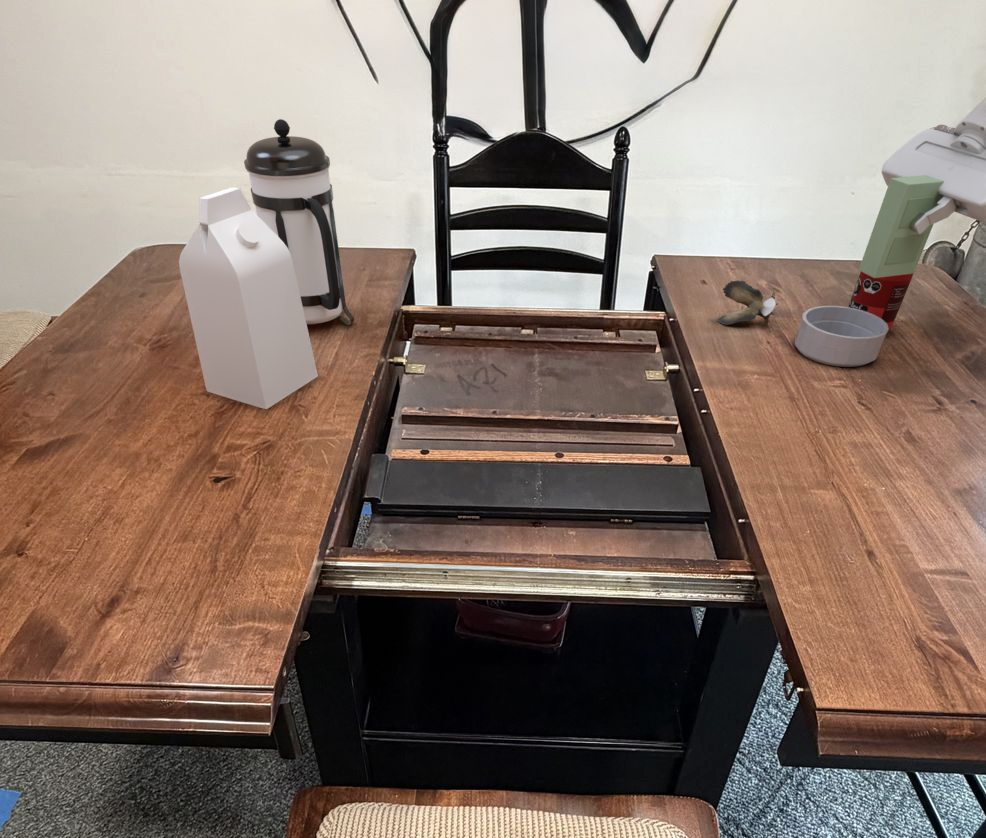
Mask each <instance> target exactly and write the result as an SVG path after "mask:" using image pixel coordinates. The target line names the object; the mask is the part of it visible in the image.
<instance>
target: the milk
mask: <svg viewBox="0 0 986 838" xmlns="http://www.w3.org/2000/svg"><path fill="white" fill-rule="evenodd" d="M198 211H199V212H198V213H199V214H198V215H199V216H198V217H199V218H198V219H199V220H198V221H199V222H198V223H199V224H198V226H197V227H196V229H195V230H194V232H193V233H192V235H191V237H190V238H189V239H188V241H187V243H186V245H184V247H183V249H182V250H181V252H180V255H179V259H178V266H179V267H178V269H179V272H180V277H181V281H182V282H181V283H182V286H183V290H184V295H185V299H186V304H187V308H188V309H187V310H188V314H189V318H190V322H191V328H192V331H193V336H194V341H195V345H196V350H197V354H198V358H199V364H200V368H201V373H202V377H203V380H204V386H205V391H206V392H207V393H211V394H215V395H217V396H221V397H223V398H227V399H230V400H233V401H236V402H240V403H243V404H245V405H246V404H247V405H249V406H253V407H256V408H259V409H260V408H261V409H263V410H268V409H269V408H271V407H273V406H274V405H276V404H278V403H279V402H281V401H283V400H284V399H285V398H287V397H289V396H290V395H291V394H293V393H294V392H296V391H297V390H299V389H301V388H302V387H304V386H306V385H308V384H309V383H310V382H312V381H313V380H315V379H317V378H318V377H319V375H318V369H317V365H316V362H315V356H314V352H313V347H312V342H311V338H310V335H309V329H308V324H306V319H305V315H304V310H303V306H302V301H301V297H300V292H299V288H298V283H297V279H296V274H295V270H294V265H293V260H292V257H291V254H290V252H289V250H288V248H287V246H286V245H285V244H284V242H283V241H282V240H281V239H280V238H279V237H278V236H277V235H276V234H275V233H274V232H273V231H272V230H271V229H270V228H269V227H268V226H267V225H266V224H265V223H264V222H263V221H262V220H261V219H260V218H259V216H258V215H257V212H255V211H254V210H252V207H251V206H250V203H249V202H248V200H247V198H246V197H245V195H244V193H243V191H242V190H241V188H238V187H233V186H232V187H228V188H226V189H225V188H224V189H223V190H222V189H221V190H219V191H216V192H213V193H210V194H207V195H204V196H201V197H199V210H198Z"/></svg>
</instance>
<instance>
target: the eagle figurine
mask: <svg viewBox="0 0 986 838" xmlns="http://www.w3.org/2000/svg"><path fill="white" fill-rule="evenodd" d="M724 286H725V287H723V288H722V290H723V293H724V296H725V297H726V298H728V299H730V300H733V302H736V303H738V304H742V305H744V306H746V308H743V309H742V308H741V309H738V310H734V311H731V312H729V313H728V314H723V315H721V316H719V317H718V318H717V319H716V321H717V322H718V323H719V324H722V325H734V324H735V323H740V322H744V321H746V322H750V321H753V320H755V319H756V318H757V316H759V317H761V318H762V319H763V320H764V323H765V324H766V325H768V324H769V321H770V316H775V313H774V310H775V308H776V306H778V305H779V302H776V300H775V299H776V296H775V295H776V290H774V291H773V292H772V294H771V295H770V297H769V298H767V299H766V300H764V301H763V299H764V295H763V293H762V292H761V290H760V289H757V288H754V287H753V286H752V285H749V283H747V282H746V281H744V280H738V279H737V280H731V281H730V282H728V283H727V284H725V285H724Z"/></svg>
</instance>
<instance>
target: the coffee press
mask: <svg viewBox="0 0 986 838" xmlns="http://www.w3.org/2000/svg"><path fill="white" fill-rule="evenodd" d="M273 126H274V127H273V130H274V131H275V133H276V135H277V136H273V137H267V138H263V139H259V140H257V141H255V142H253V144H251V145H250V146H249V147H248V149H247V151H246V158H245V159H244V160H243V165H244V168H245V170H246V171H247V173H248V176H249V180H250V186H251V188H250V193H251V199H252V203H253V204H254V206H255V211H256V214H257V215H258V216H259V218H260V219H261V220H262V221H263V222H264V223H265V224H266V225H267V226H268V227H269V228H270V229H271V230H272V231H273V232H274V233H275V234H276V235H277V236H278V237H279V238H280V239H281V240H282V241H283V242H284V244H285V245H286V246H287V248H288V250H289V252H290V254H291V257H292V260H293V265H294V270H295V274H296V279H297V283H298V288H299V292H300V297H301V301H302V306H303V310H304V315H305V319H306V324H307V325H317V324H322V323H326V322H330V321H332V320H334V319H337V320H340V321H341V322H342V323H343V324H344V325H345V326H347V327H349V326H351V325H352V324H353V323H354V321H355V317H354V315H353V314H352V313H351V312H350V310H349V309H348V306H347V303H346V296H345V288H344V279H343V272H342V265H341V257H340V256H341V255H340V249H339V242H338V241H339V240H338V233H337V225H336V218H335V217H336V216H335V211H334V210H335V209H334V202H333V200H334V192H333V185H332V184H331V181H330V180H331V179H330V172H329V171H330V166H331V161H330V157H329V156H328V155H327V154H326V152H325V150H324V148H323V146H322V145H320V144H319V143H318V142H317V141H316V140H313V139H310V138H307V137H304V136H303V137H302V136H291V135H290V136H289V134H290V129H291V127H290V125H289V123H288V121H286V120H285V119H283V118H279V119H277V120H275V121H274V124H273ZM343 313H345V315H346V317H347V318H348V319H349V320H350V321H349V320H347V318H345V316H343V315H342V314H343Z"/></svg>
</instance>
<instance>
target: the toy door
mask: <svg viewBox="0 0 986 838" xmlns="http://www.w3.org/2000/svg"><path fill="white" fill-rule="evenodd" d="M943 182H944V181H942V180H939V179H936V178H933V177H930V176H927V175H922V176H910V177H898V178H891V179H890V182H889V185H888V186H887V189H886V191H885V194H884V197H883V200H882V201H881V202H882V203H881V205H880V208H879V211H878V214H877V217H876V220H875V222H874V225H873V229H872V231H871V234H870V236H869V239H868V242H867V244H866V248H865V250H864V253H863V257H862V259H861V262H860V265H859V268H858V271H859V272H863V273H865V274H867V275H869V276H871V277H873V278H880V277H889V276H897V275H905V274H913V273H914V274H915V272H916V269H917V266H918V264H919V262H920V259H921V257H922V254H923V251H924V249H925V246H926V244H927V243H928V239H929V237H930V235H931V231H932V230H933V226H934V224H932V225H930V226H929V227H928V228H926V229H925V230H924V231H923V232H922V233H921V234H919V233H916V232H914V231H912V230H911V227H910V222H911V221H912V220H913V219H914V218H915V217H916V216H917V215H918V214H919V213H923V214H924V213H926V212H928V211H930V210H931V209H933V208H935V207H937V206H938V204H937V202H939V201H940V200H941V199H942V198H943V195H941V194H938V193H937V189H938V188H939V187H940V185H941V184H942V183H943ZM914 274H913V275H914Z"/></svg>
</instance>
